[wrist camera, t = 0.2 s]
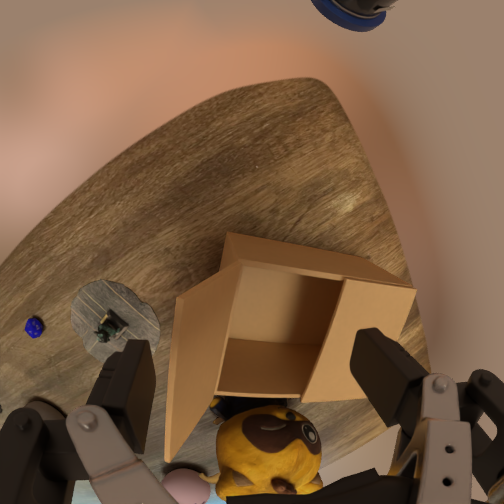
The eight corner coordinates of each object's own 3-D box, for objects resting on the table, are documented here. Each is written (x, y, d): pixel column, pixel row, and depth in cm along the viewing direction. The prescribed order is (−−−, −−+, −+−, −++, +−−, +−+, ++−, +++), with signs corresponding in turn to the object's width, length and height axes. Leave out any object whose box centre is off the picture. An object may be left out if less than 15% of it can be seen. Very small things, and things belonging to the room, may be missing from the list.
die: (42, 335, 30) (24, 339, 27) (37, 317, 30) (20, 320, 27) (48, 335, 29) (29, 339, 26) (43, 316, 29) (25, 319, 26)
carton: (207, 336, 33) (211, 400, 22) (226, 231, 30) (239, 261, 20) (331, 346, 37) (369, 397, 26) (361, 257, 34) (418, 289, 23)
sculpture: (72, 270, 29) (93, 297, 24) (134, 270, 36) (166, 293, 31) (71, 354, 30) (93, 391, 26) (126, 346, 38) (155, 376, 33)
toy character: (243, 343, 34) (277, 461, 17) (314, 391, 39) (363, 482, 21) (164, 413, 35) (158, 517, 18) (237, 448, 40) (255, 535, 23)
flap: (213, 399, 22) (208, 398, 23) (241, 262, 20) (236, 260, 20) (169, 463, 15) (164, 460, 15) (184, 299, 12) (176, 296, 12)
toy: (206, 495, 40) (184, 523, 31) (172, 470, 43) (145, 494, 33) (227, 477, 40) (205, 509, 30) (190, 451, 42) (162, 477, 33)
